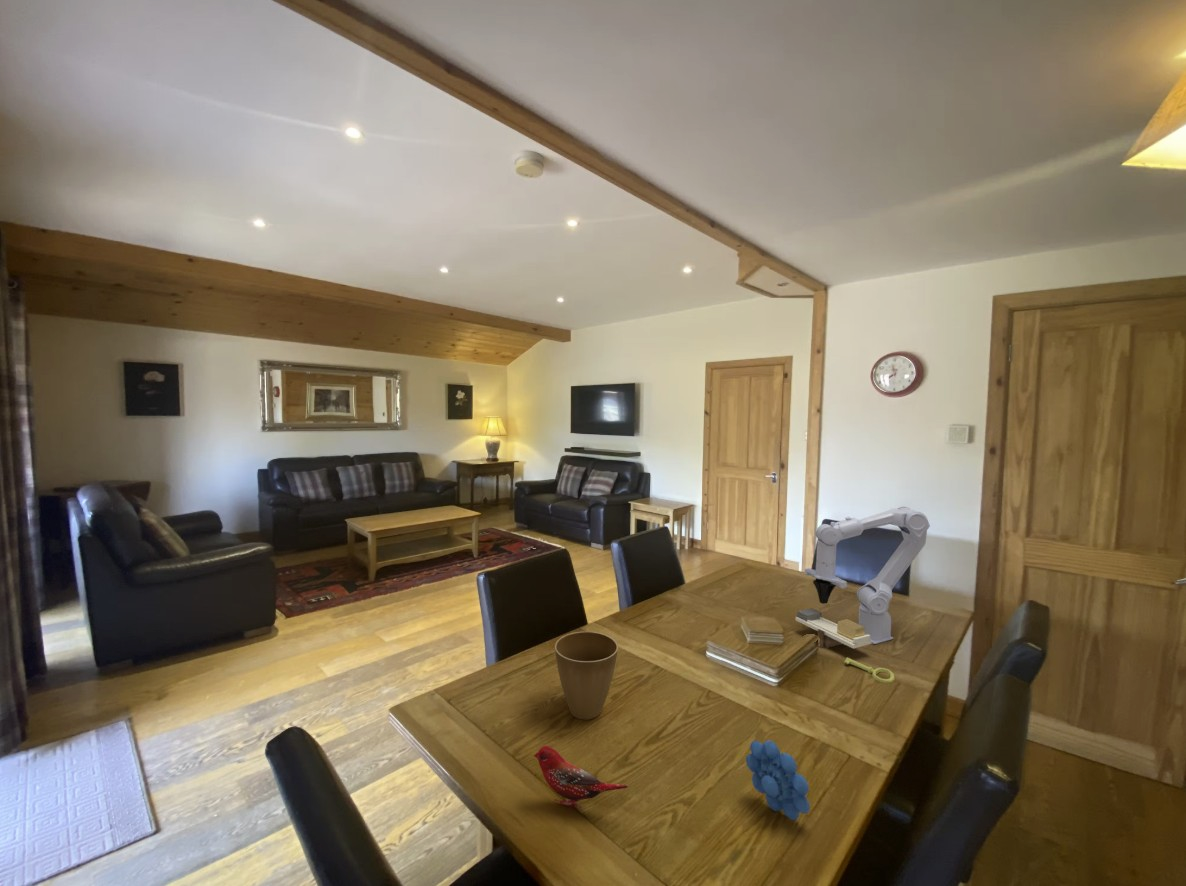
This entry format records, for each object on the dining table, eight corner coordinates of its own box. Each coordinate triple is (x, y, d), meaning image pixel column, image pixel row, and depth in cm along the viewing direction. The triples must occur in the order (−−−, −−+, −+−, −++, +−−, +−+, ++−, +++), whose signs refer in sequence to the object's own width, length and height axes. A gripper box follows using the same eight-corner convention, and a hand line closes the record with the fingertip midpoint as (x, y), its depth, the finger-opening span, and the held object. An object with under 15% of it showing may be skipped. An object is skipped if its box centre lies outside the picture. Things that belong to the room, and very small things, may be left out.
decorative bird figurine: (536, 791, 91) (536, 738, 90) (629, 814, 85) (630, 759, 85) (529, 802, 88) (530, 749, 87) (625, 827, 83) (626, 770, 82)
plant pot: (545, 700, 120) (546, 637, 119) (601, 688, 125) (602, 627, 125) (566, 737, 106) (567, 665, 105) (627, 721, 112) (629, 653, 111)
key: (844, 663, 141) (844, 656, 141) (894, 675, 135) (894, 667, 135) (842, 674, 135) (843, 667, 135) (895, 687, 129) (895, 679, 129)
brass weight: (836, 634, 148) (837, 621, 148) (846, 631, 150) (847, 619, 150) (854, 642, 143) (855, 629, 143) (864, 640, 145) (865, 626, 144)
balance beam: (795, 620, 160) (795, 611, 160) (812, 616, 164) (813, 607, 164) (853, 648, 141) (853, 638, 141) (871, 643, 145) (872, 633, 145)
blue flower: (733, 804, 88) (735, 740, 87) (751, 785, 93) (753, 724, 92) (797, 845, 80) (800, 774, 79) (814, 822, 84) (816, 755, 84)
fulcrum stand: (815, 644, 152) (815, 628, 152) (838, 638, 156) (838, 623, 156) (823, 648, 149) (824, 632, 149) (846, 642, 154) (847, 626, 153)
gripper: (799, 556, 164) (796, 596, 164) (836, 569, 150) (834, 612, 151) (813, 554, 167) (811, 593, 167) (852, 567, 153) (849, 609, 154)
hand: (823, 602), depth 159 cm, fingers closed
